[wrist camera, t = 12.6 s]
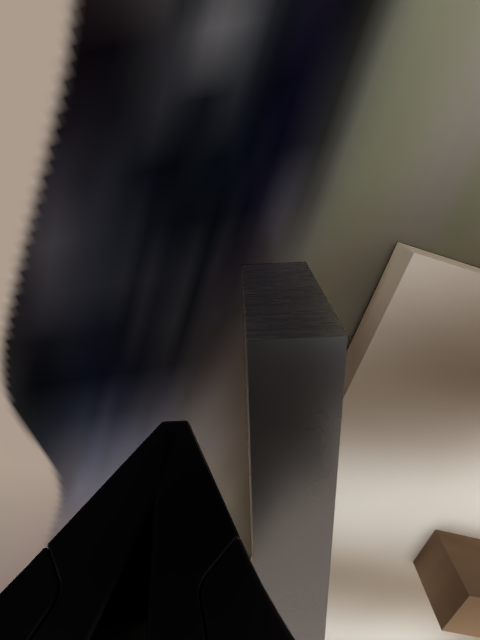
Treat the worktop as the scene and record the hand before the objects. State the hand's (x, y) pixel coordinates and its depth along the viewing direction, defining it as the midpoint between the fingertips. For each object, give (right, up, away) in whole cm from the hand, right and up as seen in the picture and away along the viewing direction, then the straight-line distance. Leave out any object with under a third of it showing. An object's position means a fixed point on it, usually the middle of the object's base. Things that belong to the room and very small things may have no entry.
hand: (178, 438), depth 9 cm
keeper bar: (+2, -6, +4) cm, 7 cm away
